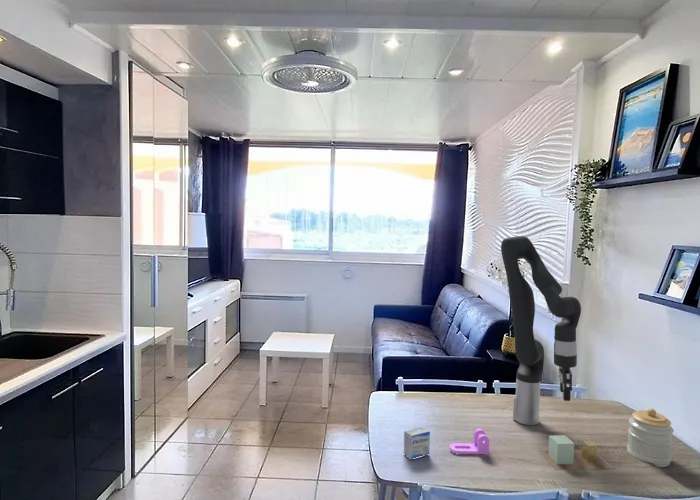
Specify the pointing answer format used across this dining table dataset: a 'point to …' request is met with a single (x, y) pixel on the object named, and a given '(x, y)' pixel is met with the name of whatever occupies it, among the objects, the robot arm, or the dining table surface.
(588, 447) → the brass post
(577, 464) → the walnut board
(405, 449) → the medicine box
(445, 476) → the dining table surface
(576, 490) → the dining table surface
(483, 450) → the bracket
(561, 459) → the sage cap
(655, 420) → the jar
